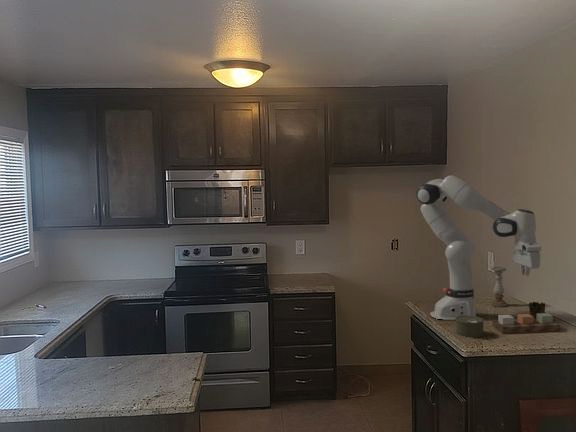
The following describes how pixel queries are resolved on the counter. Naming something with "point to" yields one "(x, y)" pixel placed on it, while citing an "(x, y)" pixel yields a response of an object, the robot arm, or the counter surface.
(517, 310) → the counter surface
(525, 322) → the terracotta button
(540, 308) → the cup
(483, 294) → the counter surface
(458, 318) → the can
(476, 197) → the robot arm
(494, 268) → the candle holder
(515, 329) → the walnut button board
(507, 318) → the grey button
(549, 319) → the sage button
